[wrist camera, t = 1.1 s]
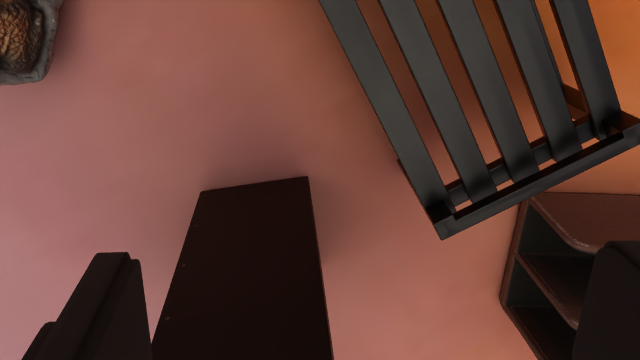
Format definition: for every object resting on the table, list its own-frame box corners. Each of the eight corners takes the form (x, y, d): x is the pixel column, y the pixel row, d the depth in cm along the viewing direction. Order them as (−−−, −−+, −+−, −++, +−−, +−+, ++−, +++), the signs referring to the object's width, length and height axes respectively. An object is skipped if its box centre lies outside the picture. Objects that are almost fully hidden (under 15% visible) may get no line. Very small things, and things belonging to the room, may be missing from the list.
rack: (279, -71, 32) (279, -79, 23) (463, -179, 31) (541, -234, 22) (403, 173, 39) (441, 241, 30) (559, 93, 38) (650, 139, 28)
